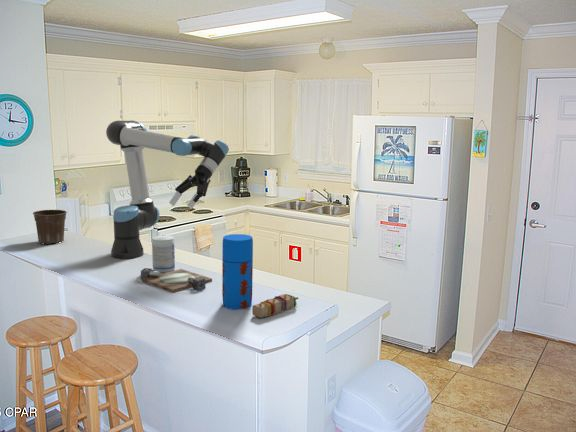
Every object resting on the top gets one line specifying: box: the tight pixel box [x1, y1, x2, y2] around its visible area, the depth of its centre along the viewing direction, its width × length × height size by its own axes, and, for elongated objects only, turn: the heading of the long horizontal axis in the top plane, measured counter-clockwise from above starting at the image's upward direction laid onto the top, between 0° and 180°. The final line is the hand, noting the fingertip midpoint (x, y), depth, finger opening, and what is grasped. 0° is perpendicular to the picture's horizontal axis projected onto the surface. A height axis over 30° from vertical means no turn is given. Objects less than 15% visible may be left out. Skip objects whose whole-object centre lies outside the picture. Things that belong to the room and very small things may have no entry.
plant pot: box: [32, 209, 68, 245], centre depth 273 cm, size 16×16×16 cm
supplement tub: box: [151, 235, 176, 274], centre depth 228 cm, size 10×10×15 cm
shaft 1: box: [140, 267, 161, 281], centre depth 215 cm, size 7×4×4 cm, turn 80°
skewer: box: [251, 293, 299, 319], centre depth 183 cm, size 21×6×5 cm, turn 136°
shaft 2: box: [188, 277, 206, 291], centre depth 206 cm, size 7×4×4 cm, turn 50°
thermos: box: [221, 233, 254, 310], centre depth 187 cm, size 11×11×25 cm
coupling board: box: [141, 268, 213, 293], centre depth 214 cm, size 20×20×2 cm
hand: (180, 205), depth 231 cm, fingers open, 13 cm apart
